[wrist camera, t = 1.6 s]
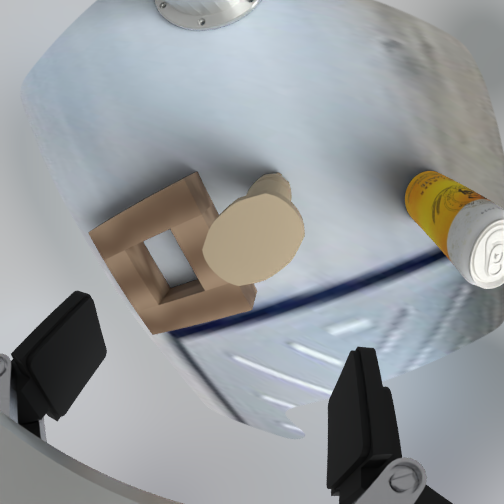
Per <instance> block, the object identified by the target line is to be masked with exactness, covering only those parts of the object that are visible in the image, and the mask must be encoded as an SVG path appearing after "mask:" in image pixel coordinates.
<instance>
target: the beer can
mask: <svg viewBox="0 0 504 504" xmlns="http://www.w3.org/2000/svg"><path fill="white" fill-rule="evenodd" d="M405 205H406V209H407V212H408V213H409V215H410V216H411V218H412V219H413V220H414V221H415V222H416V223H417V224H418V225H419V226H420V227H421V228H422V229H423V230H424V231H425V233H426V234H427V235H428V236H429V237H430V238H431V239H432V240H433V241H434V242H435V244H436V245H437V246H438V247H439V248H440V249H441V250H442V252H443V253H444V254H445V255H446V256H447V257H448V259H449V260H450V261H451V262H452V263H453V265H454V266H455V267H456V268H457V269H458V271H459V272H460V273H461V274H462V276H463V277H464V278H465V279H466V280H467V281H468V282H469V283H471V284H473V285H477V286H479V287H481V288H485V289H491V288H495V287H498V286H500V285H501V284H503V283H504V209H503V208H502V207H500V206H498V205H497V204H495V203H493V202H492V201H490V200H488V199H487V198H485V197H483V196H481V195H480V194H478V193H476V192H474V191H473V190H471V189H469V188H467V187H465V186H463V185H462V184H460V183H458V182H456V181H454V180H452V179H450V178H448V177H446V176H444V175H442V174H440V173H438V172H435V171H425V172H422V173H420V174H418V175H416V176H415V177H414V178H413V179H412V180H411V182H410V183H409V185H408V187H407V190H406V194H405Z"/></svg>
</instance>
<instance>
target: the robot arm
mask: <svg viewBox="0 0 504 504" xmlns="http://www.w3.org/2000/svg"><path fill="white" fill-rule="evenodd" d="M250 1H253V2H251V3H249V2H250ZM261 1H262V0H155V5H156V7H157V9H158V11H159V12H160V14H161V15H162V16H163V17H164V18H165V19H167V20H168V21H169V22H171V23H172V24H174V25H176V26H179V27H181V28H184V29H190V30H211V29H217V28H221V27H224V26H227V25H230V24H232V23H234V22H236V21H239V20H240V19H242V18H243V17H245V16H246V15H248V14H249V13H250V12H251V11H253V10H254V9H255V8H256V7H257V6H258V4H259V3H260V2H261ZM204 22H205V24H204V25H202V23H204ZM106 353H107V350H106V346H105V343H104V339H103V335H102V332H101V328H100V324H99V320H98V316H97V313H96V308H95V304H94V301H93V299H92V298H91V296H90V295H89V294H87V293H83V292H80V291H75V292H73V293H72V294H71V295H70V296H69V297H68V298H67V299H66V300H65V301H64V302H63V303H62V304H61V305H59V307H57V308H56V309H55V310H54V311H53V312H52V313H51V314H50V315H49V316H48V317H47V318H46V319H45V320H44V321H43V322H42V323H41V324H40V325H39V326H38V327H37V328H36V329H35V330H34V331H33V332H32V333H31V334H30V335H29V336H28V337H27V338H26V339H25V340H24V341H23V342H22V343H21V344H20V345H19V346H18V347H17V348H16V349H15V350H14V352H12V353H11V355H12V357H13V360H12V361H11V360H10V359H9V357H8V356H7V355H4V354H0V504H183V503H179V502H176V501H173V500H170V499H166V498H163V497H160V496H157V495H155V494H152V493H149V492H146V491H143V490H141V489H138V488H136V487H133V486H131V485H128V484H125V483H123V482H121V481H118V480H116V479H114V478H112V477H109V476H107V475H105V474H103V473H101V472H99V471H97V470H95V469H92V468H91V467H89V466H87V465H85V464H83V463H81V462H79V461H77V460H75V459H73V458H72V457H70V456H68V455H66V454H65V453H63V452H61V451H59V450H57V449H56V448H54V447H53V446H51V445H49V444H48V443H47V441H46V434H45V425H44V415H45V414H47V415H48V416H49V417H51V418H53V419H55V420H56V421H58V420H59V418H60V417H61V416H64V415H65V414H66V413H67V411H68V409H69V408H70V407H71V405H72V404H73V402H74V401H75V399H76V398H77V396H78V395H79V394H80V392H81V391H82V389H83V388H84V386H85V385H86V384H87V382H88V381H89V379H90V378H91V376H92V375H93V374H94V372H95V371H96V369H97V368H98V367H99V365H100V364H101V362H102V361H103V360H104V358H105V356H106ZM327 462H328V463H327V488H328V489H331V496H339V504H452V503H451V502H450V501H448V500H447V499H445V498H444V497H443V496H441V495H440V494H438V493H437V492H435V491H434V490H433V489H431V488H430V487H429V486H427V485H426V479H427V476H426V472H425V469H424V468H423V466H422V465H421V464H420V463H419V462H417V461H416V460H414V459H411V458H402V454H401V446H400V439H399V433H398V427H397V421H396V415H395V410H394V405H393V399H392V394H391V391H390V389H389V388H388V387H383V385H382V380H381V375H380V370H379V365H378V361H377V356H376V351H375V349H374V348H366V347H357V348H356V350H355V351H350V353H349V356H348V358H347V361H346V363H345V365H344V368H343V370H342V372H341V375H340V377H339V379H338V381H337V384H336V386H335V388H334V390H333V392H332V394H331V397H330V399H329V403H328V460H327Z"/></svg>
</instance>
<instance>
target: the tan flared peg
mask: <svg viewBox="0 0 504 504" xmlns="http://www.w3.org/2000/svg"><path fill="white" fill-rule="evenodd" d="M304 236H305V232H304V223H303V220H302V217H301V215H300V213H299V211H298V210H297V208H296V207H295V206H294V204H293V203H292V202H291V189H290V185H289V182H288V181H286V180H285V179H284V178H283V177H282V174H281V173H278V172H277V173H275V174H265V175H263V176H262V177H260V178H259V179H258V180H257V181H256V182H255V183H254V184H253V185H252V186H251V187H250V189H249V190H248V192H247V194H246V196H243V197H240V198H238V199H237V200H235V201H234V202H233V203H232V204H231V205H229V206H228V207H227V208H226V209H225V210H224V211H223V212H222V213H221V214H220V215H219V216H218V217H217V218H216V219H215V221H214V222H213V224H212V225H211V227H210V229H209V231H208V234H207V237H206V239H205V243H204V246H203V249H202V251H203V255H204V258H205V260H206V262H207V264H208V265H209V267H210V268H211V269H212V270H213V271H214V272H215V273H216V274H217V275H218V276H219V277H220V278H222V279H223V280H225V281H226V282H228V283H231V284H233V285H237V286H242V285H247V284H252V283H257V282H261V281H264V280H266V279H268V278H270V277H272V276H273V275H274V274H276V273H277V272H279V271H280V270H281V269H283V268H284V267H285V266H286V265H287V264H288V263H290V262H291V260H292V259H293V257H294V256H295V254H296V252H297V250H298V248H299V246H300V244H301V242H302V240H303V238H304Z"/></svg>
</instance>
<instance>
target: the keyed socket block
mask: <svg viewBox="0 0 504 504" xmlns="http://www.w3.org/2000/svg"><path fill="white" fill-rule="evenodd" d="M218 216H219V214H218V212H217V210H216V208H215V206H214V204H213V202H212V200H211V198H210V196H209V194H208V192H207V190H206V188H205V186H204V184H203V182H202V180H201V178H200V176H199V174H198V172H195V173H193V174H191V175H189V176H187V177H185V178H183V179H181V180H179V181H177V182H175V183H173V184H171V185H169V186H167V187H166V188H164V189H162V190H160V191H158V192H156V193H154V194H153V195H151V196H149V197H147V198H145V199H143V200H142V201H140V202H138V203H136V204H135V205H133V206H131V207H129V208H128V209H126V210H124V211H122V212H121V213H119V214H117V215H116V216H114V217H112V218H110V219H109V220H107V221H105V222H104V223H102V224H101V225H99V226H98V227H96V228H95V229H93V230H92V231H90V232H89V235H90V237H91V239H92V240H93V242H94V244H95V246H96V248H97V249H98V251H99V253H100V255H101V256H102V258H103V260H104V261H105V263H106V265H107V266H108V268H109V270H110V271H111V273H112V275H113V276H114V278H115V279H116V281H117V283H118V284H119V286H120V287H121V289H122V291H123V292H124V294H125V295H126V297H127V298H128V300H129V301H130V303H131V304H132V306H133V307H134V309H135V310H136V312H137V313H138V315H139V316H140V318H141V319H142V320H143V322H144V323H145V325H146V326H147V328H148V329H149V330H150V332H151V333H152V334H153V335H154V334H158V333H163V332H167V331H171V330H175V329H180V328H184V327H188V326H192V325H196V324H200V323H204V322H208V321H212V320H216V319H220V318H224V317H227V316H231V315H235V314H239V313H242V312H246V311H250V310H252V308H253V304H254V301H255V297H256V293H257V290H256V288H255V286H254V284H253V283H252V284H247V285H242V286H237V285H233V284H231V283H228V282H226V281H225V280H223V279H222V278H220V277H219V276H218V275H217V274H216V273H215V272H214V271H213V270H212V269H211V268H210V267H209V265H208V264H207V262H206V260H205V258H204V255H203V251H202V249H203V246H204V243H205V239H206V237H207V234H208V231H209V229H210V227H211V225H212V224H213V222H214V221H215V219H216V218H217V217H218ZM169 229H171V231H172V233H173V235H174V237H175V238H176V240H177V242H178V244H179V246H180V248H181V249H182V251H183V253H184V255H185V257H186V258H187V260H188V262H189V264H190V265H191V267H192V269H193V271H194V272H195V274H196V276H197V278H198V279H197V280H194V281H191V282H188V283H185V284H182V285H179V286H176V287H173V288H170V287H169V285H168V283H167V282H166V280H165V278H164V277H163V275H162V273H161V272H160V270H159V268H158V267H157V265H156V263H155V262H154V260H153V258H152V256H151V255H150V253H149V251H148V249H147V248H146V246H145V244H144V242H143V241H145V240H147V239H149V238H151V237H153V236H155V235H158V234H160V233H162V232H164V231H166V230H169Z"/></svg>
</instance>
